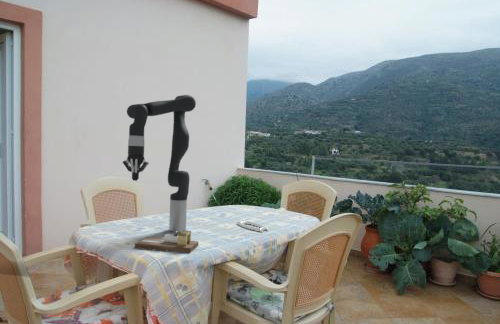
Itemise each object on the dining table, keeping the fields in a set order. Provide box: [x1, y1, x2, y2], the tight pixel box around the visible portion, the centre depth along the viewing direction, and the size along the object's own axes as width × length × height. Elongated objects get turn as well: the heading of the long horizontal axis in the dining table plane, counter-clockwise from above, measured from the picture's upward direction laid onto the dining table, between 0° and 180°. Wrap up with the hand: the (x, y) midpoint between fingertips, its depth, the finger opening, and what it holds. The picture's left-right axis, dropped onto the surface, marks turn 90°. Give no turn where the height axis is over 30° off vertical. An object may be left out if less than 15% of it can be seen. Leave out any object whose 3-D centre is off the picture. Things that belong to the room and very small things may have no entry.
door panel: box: [134, 236, 199, 254], centre depth 162 cm, size 12×26×2 cm, turn 81°
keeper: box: [177, 230, 192, 246], centre depth 160 cm, size 7×4×5 cm, turn 171°
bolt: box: [163, 231, 179, 243], centre depth 161 cm, size 3×10×5 cm, turn 81°
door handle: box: [236, 219, 270, 233], centre depth 210 cm, size 3×10×25 cm
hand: (135, 180), depth 172 cm, fingers closed
